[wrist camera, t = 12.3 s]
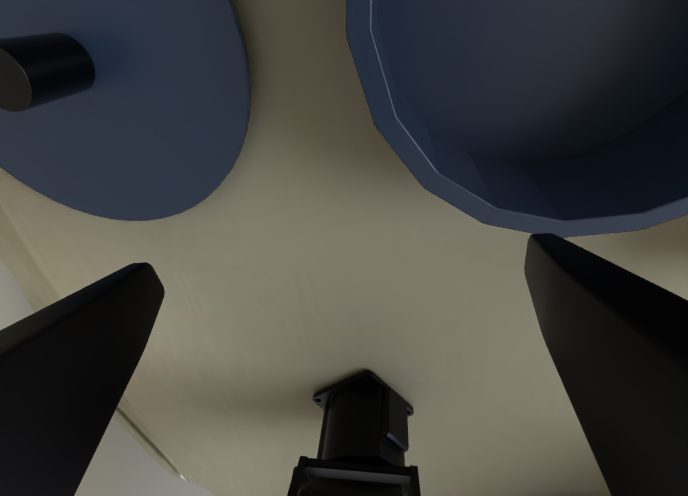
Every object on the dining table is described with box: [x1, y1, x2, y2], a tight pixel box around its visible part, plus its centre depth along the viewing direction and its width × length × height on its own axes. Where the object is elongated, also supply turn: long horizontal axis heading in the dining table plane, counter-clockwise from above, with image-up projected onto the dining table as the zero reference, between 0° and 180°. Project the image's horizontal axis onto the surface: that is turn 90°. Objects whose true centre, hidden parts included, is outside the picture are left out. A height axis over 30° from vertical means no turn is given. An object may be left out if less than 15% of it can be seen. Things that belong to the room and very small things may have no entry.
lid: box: [0, 0, 251, 221], centre depth 17 cm, size 18×18×5 cm
